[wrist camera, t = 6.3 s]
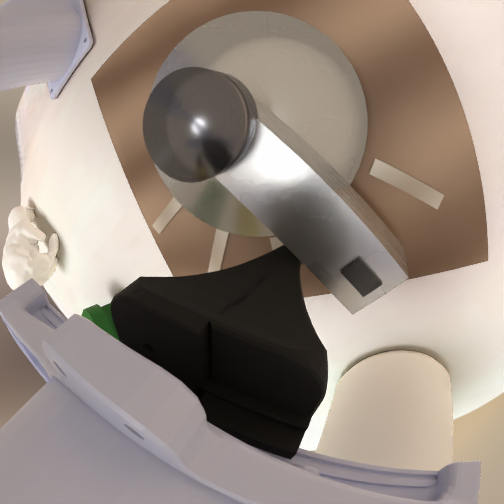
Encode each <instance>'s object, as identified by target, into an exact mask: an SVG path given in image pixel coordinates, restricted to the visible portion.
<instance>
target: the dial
mask: <svg viewBox="0 0 504 504" xmlns="http://www.w3.org/2000/svg"><path fill="white" fill-rule="evenodd" d="M367 128H368V115H367V108H366V101H365V96H364V93H363V90H362V86H361V83H360V81H359V78H358V76H357V74H356V72H355V70H354V68H353V66H352V65H351V63H350V62H349V60H348V59H347V57H346V56H345V55H344V53H343V52H342V51H341V49H340V48H339V47H338V46H337V45H336V44H335V43H334V42H333V41H332V40H331V39H330V38H329V37H327V36H326V35H325V34H323V33H322V32H321V31H319V30H318V29H317V28H315V27H313V26H311V25H309V24H308V23H306V22H304V21H302V20H299V19H297V18H294V17H291V16H288V15H285V14H280V13H275V12H268V11H245V12H238V13H233V14H229V15H225V16H222V17H219V18H216V19H214V20H211V21H209V22H207V23H206V24H204V25H202V26H200V27H198V28H197V29H195V30H194V31H193V32H191V33H190V34H188V35H187V36H186V37H185V38H184V39H183V40H182V41H181V42H179V43H178V44H177V46H176V47H175V48H174V49H173V50H172V51H171V53H170V54H169V55H168V57H167V58H166V60H165V61H164V63H163V64H162V66H161V68H160V70H159V72H158V74H157V76H156V78H155V81H154V83H153V86H152V89H151V93H150V96H149V98H148V100H147V103H146V106H145V110H144V114H143V136H144V141H145V145H146V148H147V150H148V153H149V155H150V157H151V158H152V160H153V162H154V164H155V166H156V168H157V171H158V173H159V175H160V177H161V178H162V180H163V182H164V184H165V185H166V187H167V188H168V190H169V191H170V192H171V194H172V195H173V196H174V197H175V198H176V200H177V201H178V202H179V203H180V204H181V205H182V206H183V207H184V208H185V209H186V210H188V211H189V212H190V213H191V214H193V215H194V216H195V217H197V218H198V219H200V220H201V221H203V222H205V223H207V224H208V225H210V226H212V227H215V228H217V229H220V230H222V231H225V232H228V233H232V234H236V235H242V236H249V237H265V236H274V235H275V236H276V237H277V238H278V239H279V240H280V241H281V242H282V243H283V244H284V245H285V246H286V247H287V248H288V249H289V250H290V251H291V252H292V253H293V254H294V255H295V256H296V257H297V258H298V259H299V260H300V261H301V262H302V263H303V264H304V265H305V266H306V267H307V268H308V269H309V270H310V271H311V272H312V273H313V274H314V275H315V276H316V277H317V278H318V279H319V280H320V281H321V282H322V283H323V284H324V285H325V286H326V288H327V289H328V290H329V291H330V292H331V293H332V294H333V295H334V296H335V297H336V298H337V299H338V300H339V301H340V302H341V303H342V304H343V305H344V306H345V307H346V308H347V309H348V310H349V311H350V313H351V314H352V315H353V314H354V313H356V312H357V311H359V310H361V309H362V308H364V307H366V306H367V305H369V304H370V303H372V302H373V301H375V300H377V299H378V298H380V297H381V296H383V295H384V294H386V293H387V292H389V291H390V290H392V289H393V288H395V287H396V286H398V285H399V284H401V283H402V282H403V281H405V280H406V279H408V278H409V277H408V271H407V266H406V260H405V255H404V250H403V246H402V245H401V243H400V242H399V241H398V239H397V238H396V237H395V236H394V235H393V233H392V232H391V231H390V230H389V228H388V227H387V226H386V225H385V224H384V222H383V221H382V220H381V219H380V218H379V217H378V215H377V214H376V213H375V212H374V211H373V210H372V208H371V207H370V206H369V205H368V204H367V203H366V202H365V201H364V200H363V198H362V197H361V196H360V195H359V194H358V193H357V192H356V191H355V190H354V189H353V188H352V187H351V185H350V184H351V183H352V181H353V179H354V177H355V175H356V173H357V171H358V169H359V166H360V163H361V160H362V157H363V154H364V151H365V145H366V139H367Z"/></svg>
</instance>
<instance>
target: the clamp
mask: <svg viewBox="0 0 504 504" xmlns="http://www.w3.org/2000/svg"><path fill="white" fill-rule="evenodd" d="M82 317H85V318H87V319H89V320H90V321H91V322H93V323H94V324H95V325H97V326H98V327H100V328H101V329H102V330H104V331H105V332H107V333H108V334H110V335H111V336H112V337H114V338H115V339H117V340H118V341H120V340H119V337H118V334H117V331H116V328H115V325H114V322H113V319H112V315H111V303H110V304H107V305H105V306H102V307H100V306H99V305H97V304H96V305H94V306H91V307H89V308H86V309H84V310H83V313H82Z"/></svg>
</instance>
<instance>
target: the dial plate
mask: <svg viewBox="0 0 504 504" xmlns="http://www.w3.org/2000/svg"><path fill="white" fill-rule="evenodd" d="M245 11H268V12H275V13H280V14H285V15H288V16H291V17H294V18H297V19H299V20H302V21H304V22H306V23H308V24H309V25H311V26H313V27H315V28H317V29H318V30H319V31H321V32H322V33H323V34H325V35H326V36H327V37H329V38H330V39H331V40H332V41H333V42H334V43H335V44H336V45H337V46H338V47H339V48H340V49H341V51H342V52H343V53H344V55H345V56H346V57H347V59H348V60H349V62H350V63H351V65H352V66H353V68H354V70H355V72H356V74H357V76H358V78H359V81H360V83H361V86H362V90H363V93H364V96H365V101H366V108H367V115H368V128H367V139H366V145H365V151H364V154H363V157H362V160H361V163H360V166H359V169H358V171H357V173H356V175H355V177H354V179H353V181H352V183H351V184H350V185H351V187H352V188H353V189H354V190H355V191H356V192H357V193H358V194H359V195H360V196H361V197H362V198H363V200H364V201H365V202H366V203H367V204H368V205H369V206H370V207H371V208H372V210H373V211H374V212H375V213H376V214H377V215H378V217H379V218H380V219H381V220H382V221H383V222H384V224H385V225H386V226H387V227H388V228H389V230H390V231H391V232H392V233H393V235H394V236H395V237H396V238H397V239H398V241H399V242H400V243H401V245H402V246H403V250H404V255H405V260H406V266H407V271H408V277H409V278H408V279H412V278H417V277H422V276H426V275H431V274H435V273H440V272H444V271H448V270H453V269H457V268H461V267H465V266H469V265H473V264H477V263H481V262H484V261H488V238H487V223H486V212H485V203H484V196H483V189H482V183H481V177H480V171H479V166H478V162H477V157H476V153H475V148H474V144H473V141H472V137H471V133H470V130H469V126H468V123H467V120H466V117H465V113H464V110H463V108H462V105H461V102H460V99H459V96H458V94H457V91H456V89H455V86H454V84H453V81H452V79H451V76H450V74H449V72H448V70H447V67H446V65H445V63H444V61H443V59H442V57H441V55H440V53H439V51H438V49H437V47H436V45H435V43H434V41H433V39H432V38H431V36H430V34H429V32H428V31H427V29H426V27H425V25H424V24H423V22H422V20H421V19H420V17H419V16H418V14H417V13H416V11H415V9H414V8H413V6H412V5H411V4H410V2H409V1H408V0H170V1H169V2H168V3H166V4H165V5H164V6H163V7H161V8H160V9H159V10H158V11H157V12H155V13H154V14H153V15H152V16H151V17H150V18H149V19H147V20H146V21H145V22H144V23H143V24H142V25H141V26H140V27H139V28H138V29H136V30H135V31H134V32H133V33H132V34H131V35H130V36H129V37H128V38H127V39H126V40H125V41H124V42H123V43H122V44H121V45H120V46H119V47H118V49H117V50H116V51H115V52H114V53H113V54H112V55H111V56H110V57H109V58H108V59H107V61H106V62H105V63H104V64H103V65H102V66H101V68H100V69H99V70H98V71H97V72H96V74H95V75H94V76H93V77H92V79H91V81H92V84H93V87H94V90H95V94H96V97H97V100H98V103H99V106H100V109H101V112H102V115H103V118H104V121H105V123H106V126H107V129H108V132H109V134H110V137H111V140H112V143H113V145H114V148H115V150H116V153H117V155H118V158H119V161H120V163H121V165H122V168H123V170H124V173H125V175H126V178H127V180H128V182H129V185H130V187H131V189H132V192H133V194H134V196H135V198H136V201H137V203H138V205H139V207H140V210H141V212H142V214H143V216H144V218H145V220H146V223H147V225H148V227H149V229H150V231H151V233H152V235H153V237H154V239H155V241H156V243H157V245H158V247H159V249H160V251H161V253H162V255H163V257H164V259H165V261H166V263H167V265H168V267H169V269H170V271H171V273H172V275H173V276H174V277H178V276H189V275H198V274H203V273H209V272H214V271H219V270H223V269H227V268H230V267H234V266H237V265H240V264H243V263H245V262H248V261H250V260H253V259H255V258H258V257H260V256H262V255H264V254H266V253H268V252H271V251H273V250H275V249H277V248H279V247H280V246H282V245H284V244H283V243H282V242H281V241H280V240H279V239H278V238H277V237H276V236H275V235H274V236H265V237H249V236H242V235H236V234H232V233H228V232H225V231H222V230H220V229H217V228H215V227H212V226H210V225H208V224H207V223H205V222H203V221H201V220H200V219H198V218H197V217H195V216H194V215H193V214H191V213H190V212H189V211H188V210H186V209H185V208H184V207H183V206H182V205H181V204H180V203H179V202H178V201H177V200H176V198H175V197H174V196H173V195H172V194H171V192H170V191H169V190H168V188H167V187H166V185H165V184H164V182H163V180H162V178H161V177H160V175H159V173H158V171H157V168H156V166H155V164H154V162H153V160H152V158H151V157H150V155H149V153H148V150H147V148H146V145H145V141H144V136H143V114H144V110H145V106H146V103H147V100H148V98H149V96H150V93H151V89H152V86H153V83H154V81H155V78H156V76H157V74H158V72H159V70H160V68H161V66H162V64H163V63H164V61H165V60H166V58H167V57H168V55H169V54H170V53H171V51H172V50H173V49H174V48H175V47H176V46H177V44H178V43H179V42H181V41H182V40H183V39H184V38H185V37H186V36H187V35H188V34H190V33H191V32H193V31H194V30H195V29H197V28H198V27H200V26H202V25H204V24H206V23H207V22H209V21H211V20H214V19H216V18H219V17H222V16H225V15H229V14H233V13H238V12H245ZM300 280H301V288H302V294H303V298H304V297H310V296H317V295H324V294H330V293H331V292H330V291H329V290H328V289H327V288H326V286H325V285H324V284H323V283H322V282H321V281H320V280H319V279H318V278H317V277H316V276H315V275H314V274H313V273H312V272H311V271H310V270H309V269H308V268H307V267H306V266H305V265H304V264H303V263H301V267H300ZM406 280H407V279H406Z"/></svg>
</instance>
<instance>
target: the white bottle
mask: <svg viewBox="0 0 504 504" xmlns="http://www.w3.org/2000/svg"><path fill="white" fill-rule="evenodd" d="M452 451H453V406H452V391H451V380H450V376H449V373H448V372H447V370H446V369H445V368H444V367H443V366H442V365H441V364H440V363H438V362H437V361H436V360H435V359H433V358H432V357H430V356H428V355H426V354H423V353H420V352H416V351H407V350H397V351H388V352H383V353H379V354H376V355H373V356H370V357H368V358H366V359H364V360H362V361H360V362H359V363H358V364H356V365H355V366H353V367H352V368H351V369H350V370H349V371H347V372H346V373H345V374H344V375H343V376H342V377H341V378H340V380H339V382H338V384H337V385H336V389H335V392H334V396H333V400H332V403H331V407H330V410H329V413H328V417H327V420H326V423H325V426H324V429H323V432H322V435H321V438H320V441H319V444H318V447H317V450H316V452H315V453H318V454H322V455H326V456H330V457H334V458H339V459H343V460H348V461H353V462H358V463H364V464H370V465H376V466H383V467H391V468H400V469H412V470H430V471H439V470H440V469H442V468H443V467H445V466H446V465H448V464H451V463H452V454H453V452H452Z"/></svg>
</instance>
